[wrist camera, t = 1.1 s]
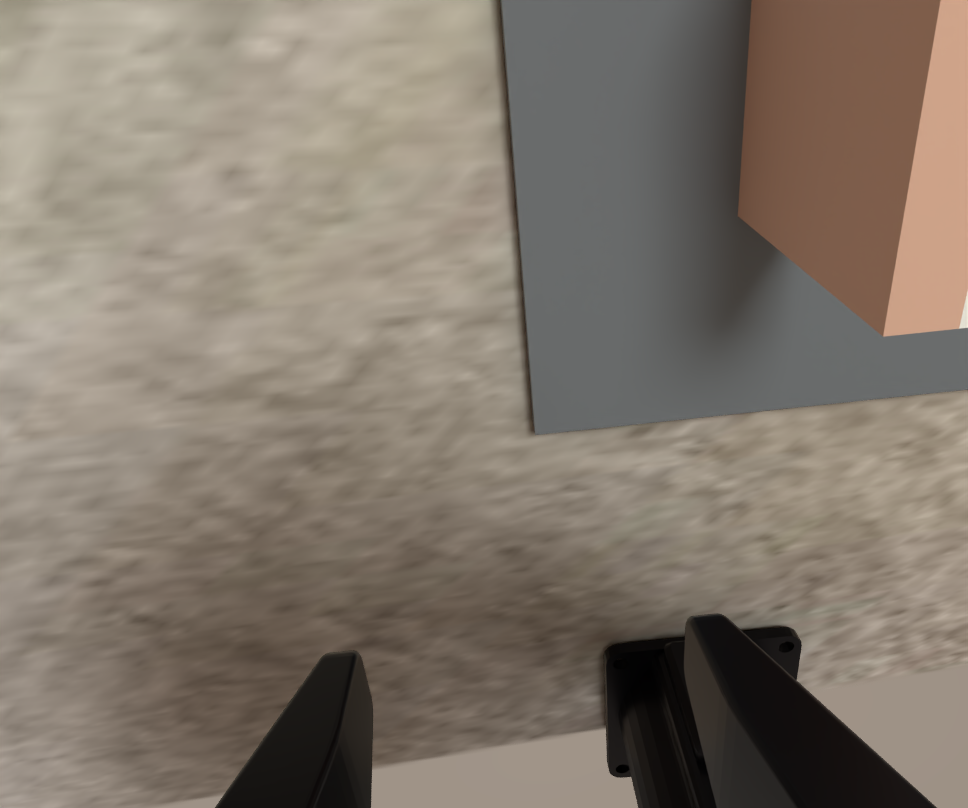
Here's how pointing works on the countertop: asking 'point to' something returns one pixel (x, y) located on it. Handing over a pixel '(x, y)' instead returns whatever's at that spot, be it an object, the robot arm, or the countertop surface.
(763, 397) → the mat
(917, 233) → the tile
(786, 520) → the countertop surface
